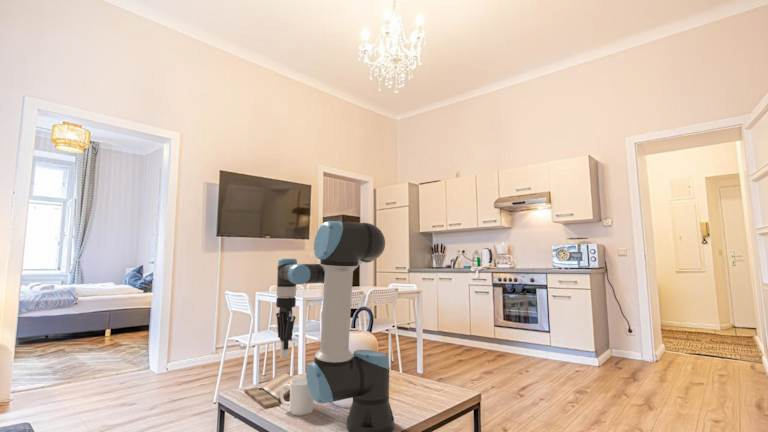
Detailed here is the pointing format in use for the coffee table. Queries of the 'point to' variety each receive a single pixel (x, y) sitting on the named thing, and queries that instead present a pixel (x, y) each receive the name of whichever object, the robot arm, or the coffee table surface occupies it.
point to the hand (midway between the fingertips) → (284, 357)
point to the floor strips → (261, 397)
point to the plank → (278, 385)
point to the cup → (298, 397)
